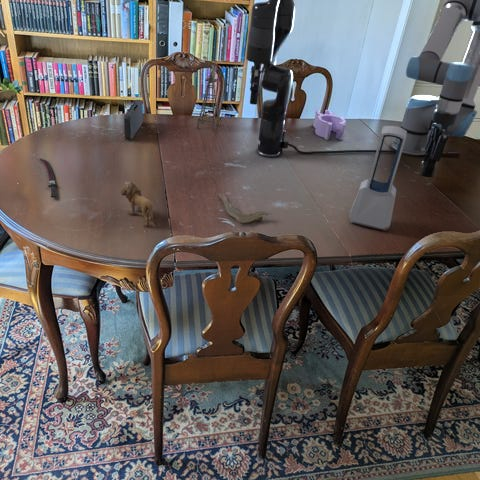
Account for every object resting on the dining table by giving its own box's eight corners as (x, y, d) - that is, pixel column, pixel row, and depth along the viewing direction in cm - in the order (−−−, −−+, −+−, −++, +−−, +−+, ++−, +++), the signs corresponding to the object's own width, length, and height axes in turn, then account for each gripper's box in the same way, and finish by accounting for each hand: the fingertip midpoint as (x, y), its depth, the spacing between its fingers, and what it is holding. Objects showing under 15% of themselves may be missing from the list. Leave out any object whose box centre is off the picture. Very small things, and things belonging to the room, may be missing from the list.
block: (418, 171, 173) (421, 161, 171) (430, 172, 173) (433, 162, 171) (420, 176, 170) (424, 165, 167) (432, 177, 170) (436, 167, 167)
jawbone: (251, 231, 136) (251, 225, 134) (200, 206, 146) (200, 200, 145) (270, 218, 141) (270, 213, 140) (219, 195, 152) (219, 189, 150)
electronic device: (389, 222, 147) (418, 130, 131) (388, 233, 141) (417, 138, 125) (350, 212, 150) (373, 122, 134) (347, 223, 144) (370, 129, 127)
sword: (61, 197, 141) (61, 193, 140) (50, 198, 139) (50, 194, 139) (49, 160, 164) (48, 156, 163) (39, 160, 163) (39, 157, 162)
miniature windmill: (214, 131, 201) (219, 58, 184) (195, 128, 202) (199, 55, 185) (219, 124, 208) (224, 54, 192) (201, 122, 209) (205, 51, 193)
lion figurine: (118, 210, 138) (116, 182, 133) (132, 204, 141) (131, 177, 137) (151, 229, 130) (150, 201, 126) (165, 223, 134) (165, 195, 129)
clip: (307, 123, 221) (309, 109, 217) (331, 124, 223) (334, 110, 219) (321, 139, 204) (324, 124, 201) (347, 140, 207) (350, 125, 203)
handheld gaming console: (136, 121, 202) (136, 98, 197) (143, 121, 202) (142, 98, 197) (123, 140, 183) (122, 115, 178) (130, 141, 183) (130, 116, 178)
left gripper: (250, 38, 140) (244, 92, 149) (245, 46, 128) (239, 105, 137) (274, 41, 140) (268, 95, 149) (272, 50, 128) (265, 108, 137)
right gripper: (429, 102, 166) (410, 163, 179) (441, 117, 151) (420, 182, 164) (450, 105, 166) (430, 165, 178) (465, 120, 151) (441, 185, 164)
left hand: (254, 100), depth 143 cm, fingers open, 8 cm apart
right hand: (425, 173), depth 171 cm, fingers closed on block, 4 cm apart
